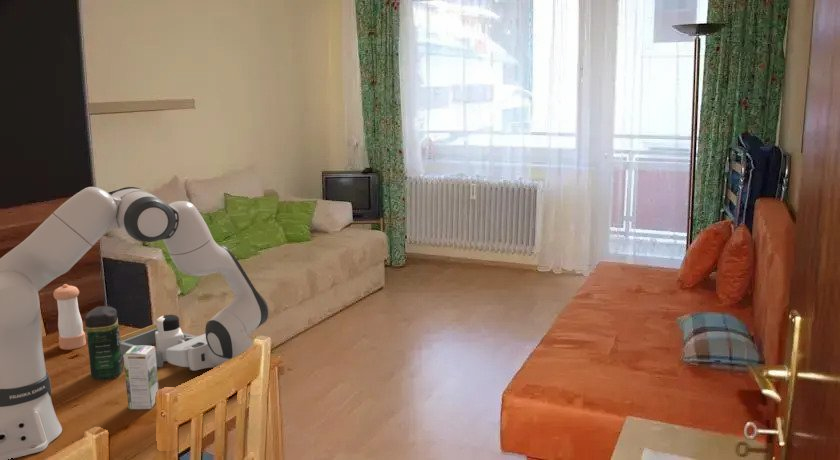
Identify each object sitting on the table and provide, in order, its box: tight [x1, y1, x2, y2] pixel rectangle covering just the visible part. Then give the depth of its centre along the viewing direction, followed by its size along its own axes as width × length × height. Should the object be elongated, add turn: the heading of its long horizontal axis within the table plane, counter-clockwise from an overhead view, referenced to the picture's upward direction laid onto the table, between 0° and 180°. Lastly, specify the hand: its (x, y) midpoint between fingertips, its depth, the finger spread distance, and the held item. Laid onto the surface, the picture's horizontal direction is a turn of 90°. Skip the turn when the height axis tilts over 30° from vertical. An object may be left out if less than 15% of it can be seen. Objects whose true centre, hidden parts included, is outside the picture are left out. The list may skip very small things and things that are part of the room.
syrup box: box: [122, 345, 160, 410], centre depth 182 cm, size 6×6×14 cm
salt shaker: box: [52, 283, 87, 351], centre depth 222 cm, size 7×7×19 cm
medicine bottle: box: [155, 314, 184, 363], centre depth 213 cm, size 7×7×12 cm
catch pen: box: [120, 322, 199, 368], centre depth 216 cm, size 15×18×5 cm
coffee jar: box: [84, 305, 124, 381], centre depth 200 cm, size 10×8×19 cm
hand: (182, 340), depth 211 cm, fingers closed
